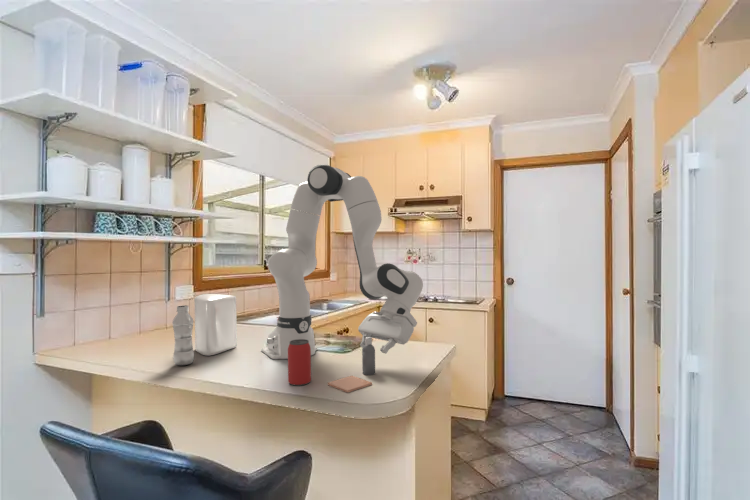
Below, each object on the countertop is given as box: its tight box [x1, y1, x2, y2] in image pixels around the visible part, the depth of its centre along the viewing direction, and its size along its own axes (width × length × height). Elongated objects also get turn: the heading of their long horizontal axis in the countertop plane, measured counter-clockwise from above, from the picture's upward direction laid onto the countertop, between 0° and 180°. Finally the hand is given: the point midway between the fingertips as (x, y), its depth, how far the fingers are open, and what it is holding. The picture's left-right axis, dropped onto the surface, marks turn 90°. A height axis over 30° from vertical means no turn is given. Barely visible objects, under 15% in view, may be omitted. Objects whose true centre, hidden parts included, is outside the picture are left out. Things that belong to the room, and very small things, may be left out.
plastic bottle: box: [172, 304, 195, 366], centre depth 137 cm, size 6×7×20 cm
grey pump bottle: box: [361, 337, 376, 376], centre depth 125 cm, size 4×4×11 cm
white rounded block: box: [193, 293, 238, 357], centre depth 156 cm, size 15×14×22 cm
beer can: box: [287, 339, 312, 386], centre depth 117 cm, size 7×7×12 cm
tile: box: [327, 375, 373, 393], centre depth 115 cm, size 9×9×1 cm
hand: (372, 349), depth 126 cm, fingers open, 8 cm apart
